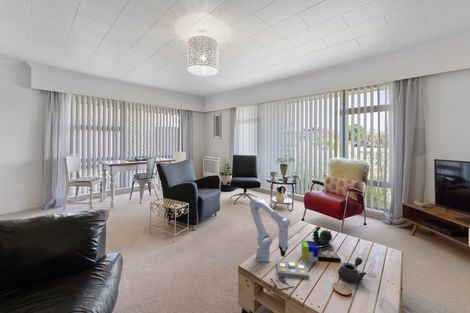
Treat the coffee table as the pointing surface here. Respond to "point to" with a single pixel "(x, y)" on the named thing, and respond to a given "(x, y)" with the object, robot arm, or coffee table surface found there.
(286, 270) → the button board
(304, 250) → the puzzle toy
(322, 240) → the green cactus plant
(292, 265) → the button middle
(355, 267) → the teapot
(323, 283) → the coffee table surface
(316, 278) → the coffee table surface
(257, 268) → the coffee table surface
